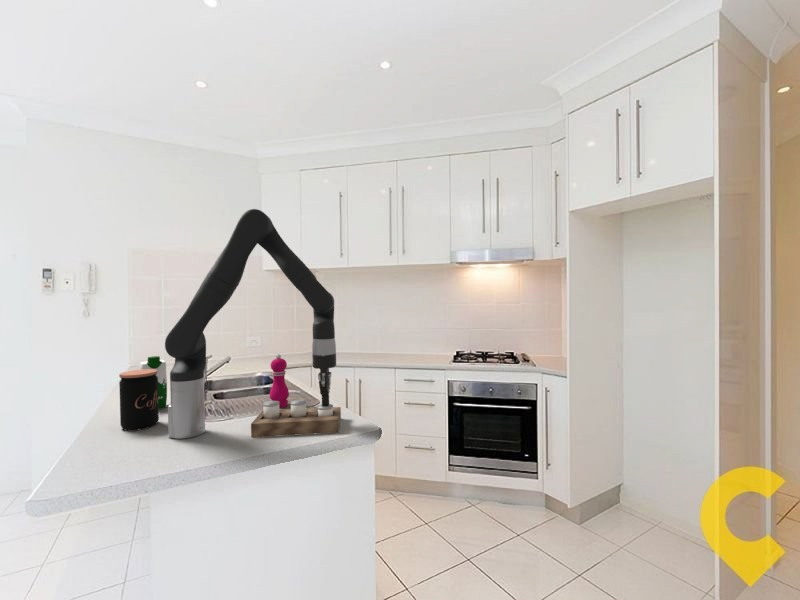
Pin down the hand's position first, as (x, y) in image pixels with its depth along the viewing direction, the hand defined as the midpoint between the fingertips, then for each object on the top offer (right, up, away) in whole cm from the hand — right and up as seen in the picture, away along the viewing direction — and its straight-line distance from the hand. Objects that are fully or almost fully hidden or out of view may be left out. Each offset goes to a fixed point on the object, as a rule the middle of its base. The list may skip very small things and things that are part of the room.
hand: (325, 405), depth 128 cm
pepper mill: (-22, -7, +25) cm, 34 cm away
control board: (-8, -7, -1) cm, 11 cm away
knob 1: (-17, -4, -2) cm, 17 cm away
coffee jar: (-63, -8, +4) cm, 63 cm away
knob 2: (0, -5, 0) cm, 5 cm away
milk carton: (-72, -8, +26) cm, 77 cm away
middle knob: (-9, -3, -1) cm, 9 cm away
